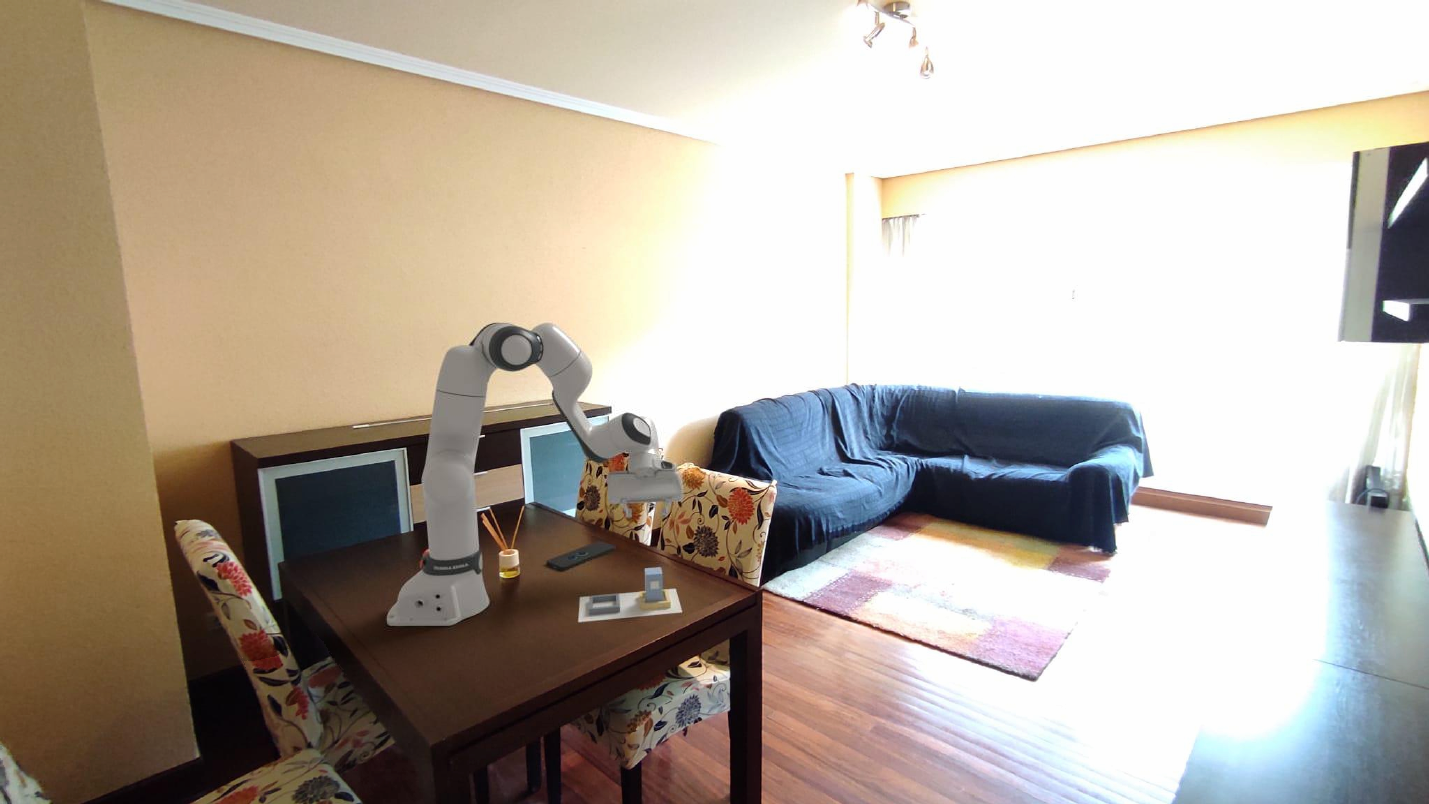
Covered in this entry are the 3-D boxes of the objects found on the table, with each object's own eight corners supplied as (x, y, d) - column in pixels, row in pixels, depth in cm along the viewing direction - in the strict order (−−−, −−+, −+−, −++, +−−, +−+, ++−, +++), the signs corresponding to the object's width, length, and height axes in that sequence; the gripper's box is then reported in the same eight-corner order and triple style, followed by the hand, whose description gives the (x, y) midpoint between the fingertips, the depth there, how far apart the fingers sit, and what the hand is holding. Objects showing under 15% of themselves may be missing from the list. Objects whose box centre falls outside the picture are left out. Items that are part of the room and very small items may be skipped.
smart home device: (545, 560, 176) (598, 540, 192) (545, 566, 177) (598, 545, 192) (563, 567, 171) (617, 546, 187) (563, 573, 172) (617, 551, 187)
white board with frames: (578, 624, 142) (578, 616, 141) (580, 599, 154) (579, 591, 154) (682, 614, 146) (682, 606, 146) (675, 590, 159) (675, 583, 158)
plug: (646, 607, 148) (646, 576, 147) (645, 599, 153) (644, 568, 152) (663, 606, 149) (662, 574, 148) (661, 597, 154) (660, 567, 152)
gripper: (606, 465, 166) (606, 511, 158) (681, 463, 170) (686, 508, 162) (606, 477, 171) (606, 522, 163) (679, 475, 175) (683, 519, 167)
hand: (647, 515), depth 162 cm, fingers open, 8 cm apart
